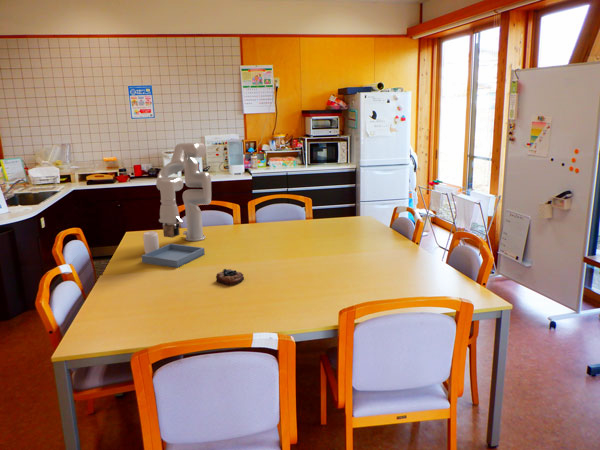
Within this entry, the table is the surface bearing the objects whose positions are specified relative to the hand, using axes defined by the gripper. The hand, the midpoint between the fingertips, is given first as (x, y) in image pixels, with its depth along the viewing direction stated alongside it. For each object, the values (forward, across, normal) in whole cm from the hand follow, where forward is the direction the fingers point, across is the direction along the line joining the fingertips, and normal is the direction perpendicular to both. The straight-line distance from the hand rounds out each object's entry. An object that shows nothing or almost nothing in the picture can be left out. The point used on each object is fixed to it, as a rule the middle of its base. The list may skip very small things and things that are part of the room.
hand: (171, 234), depth 261 cm
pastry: (+15, +48, -17) cm, 53 cm away
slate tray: (+14, 0, 0) cm, 14 cm away
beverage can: (+14, -19, +4) cm, 24 cm away
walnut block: (+1, 0, 0) cm, 1 cm away
